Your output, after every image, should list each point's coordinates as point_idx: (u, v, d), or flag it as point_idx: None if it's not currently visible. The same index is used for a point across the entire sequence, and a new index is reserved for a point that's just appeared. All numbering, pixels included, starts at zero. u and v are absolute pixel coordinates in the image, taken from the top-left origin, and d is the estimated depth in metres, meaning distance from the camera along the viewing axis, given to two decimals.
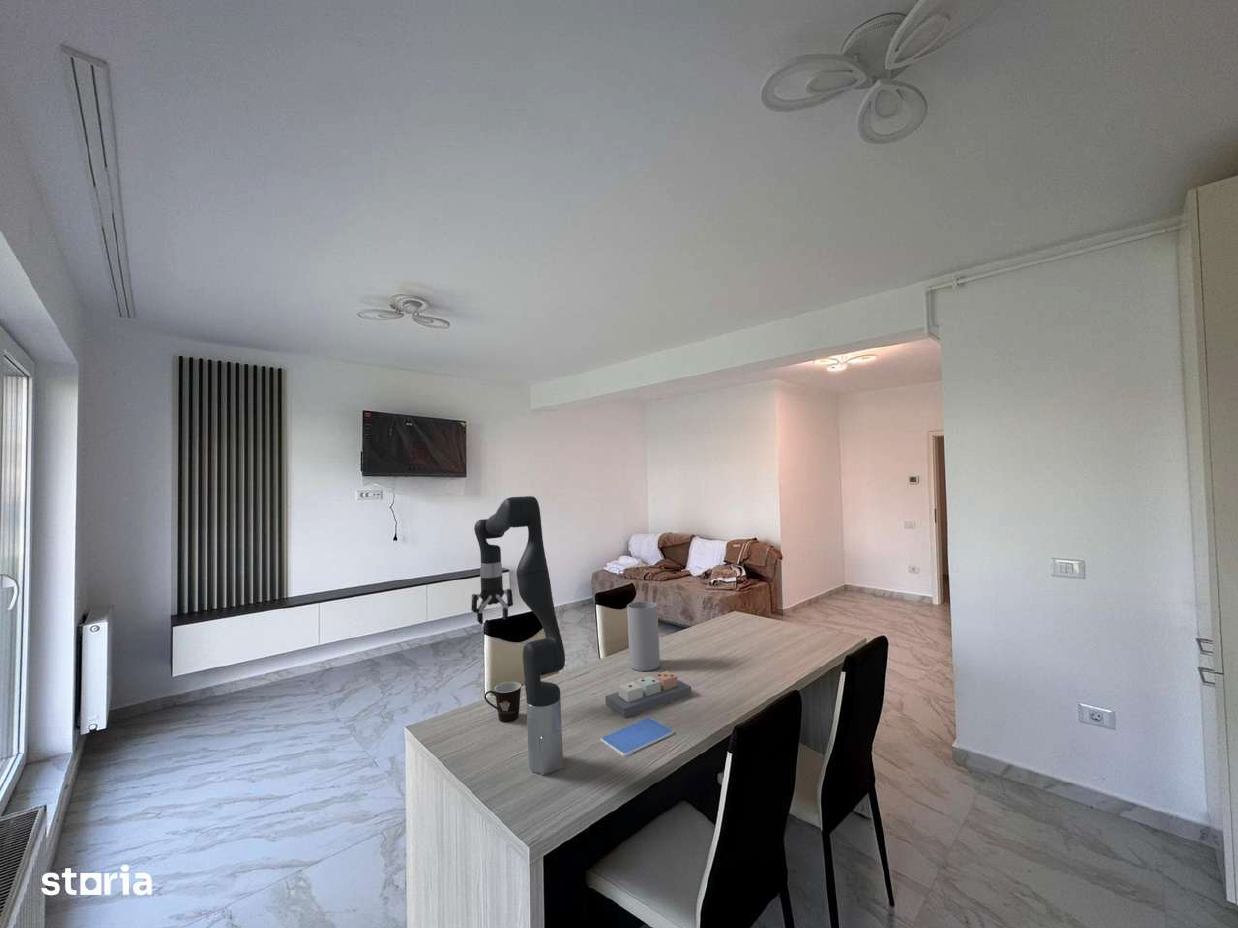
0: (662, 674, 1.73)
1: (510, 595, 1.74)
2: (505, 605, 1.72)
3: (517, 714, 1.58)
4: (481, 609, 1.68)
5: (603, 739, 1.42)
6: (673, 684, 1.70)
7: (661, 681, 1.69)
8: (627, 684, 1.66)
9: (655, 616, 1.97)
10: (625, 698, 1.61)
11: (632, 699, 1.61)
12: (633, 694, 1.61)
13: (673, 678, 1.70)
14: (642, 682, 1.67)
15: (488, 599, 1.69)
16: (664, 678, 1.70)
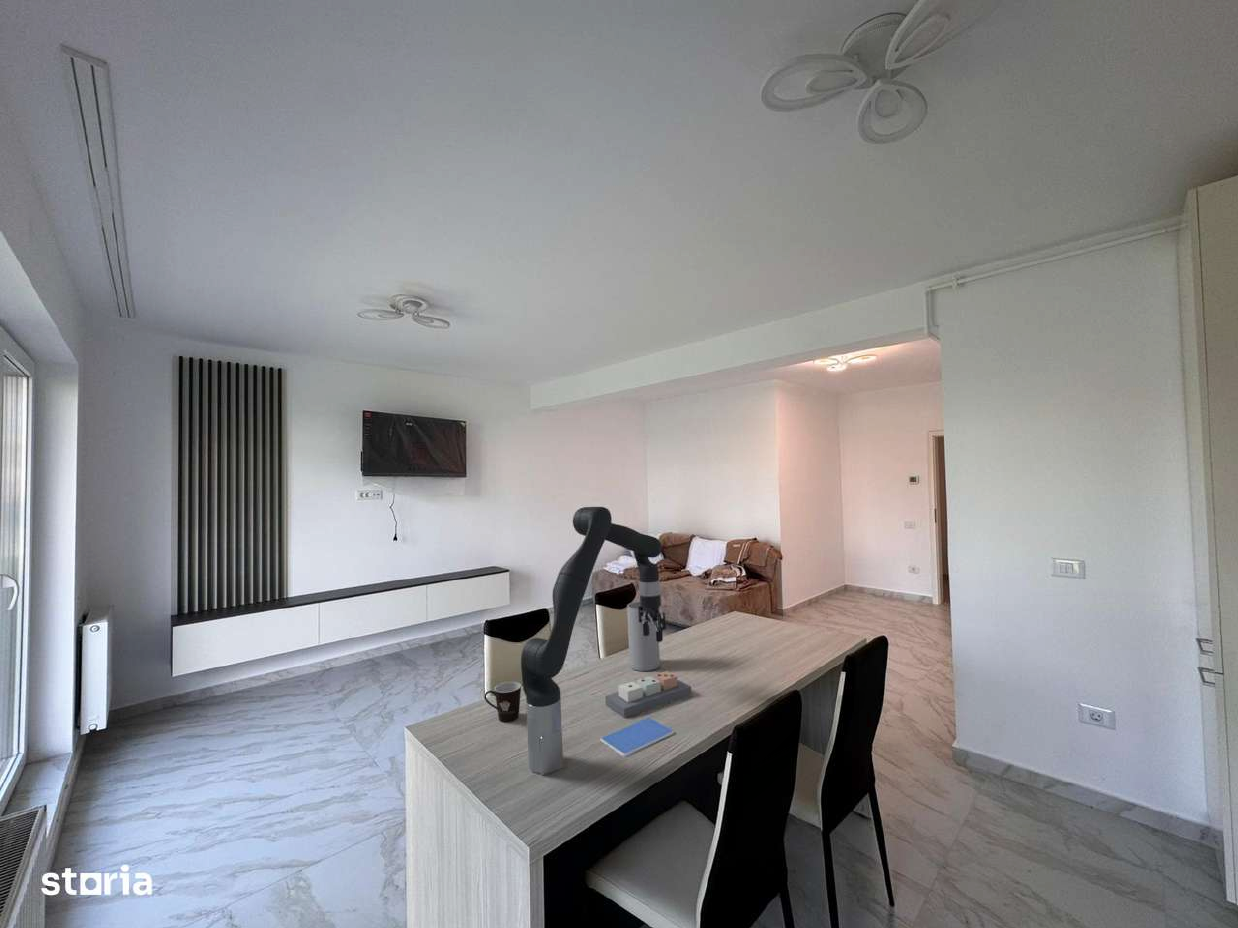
0: (662, 674, 1.73)
1: None
2: None
3: (517, 714, 1.58)
4: None
5: (603, 739, 1.42)
6: (673, 684, 1.70)
7: (661, 681, 1.69)
8: (627, 684, 1.66)
9: None
10: (625, 698, 1.61)
11: (632, 699, 1.61)
12: (633, 694, 1.61)
13: (673, 678, 1.70)
14: (642, 682, 1.67)
15: None
16: (664, 678, 1.70)
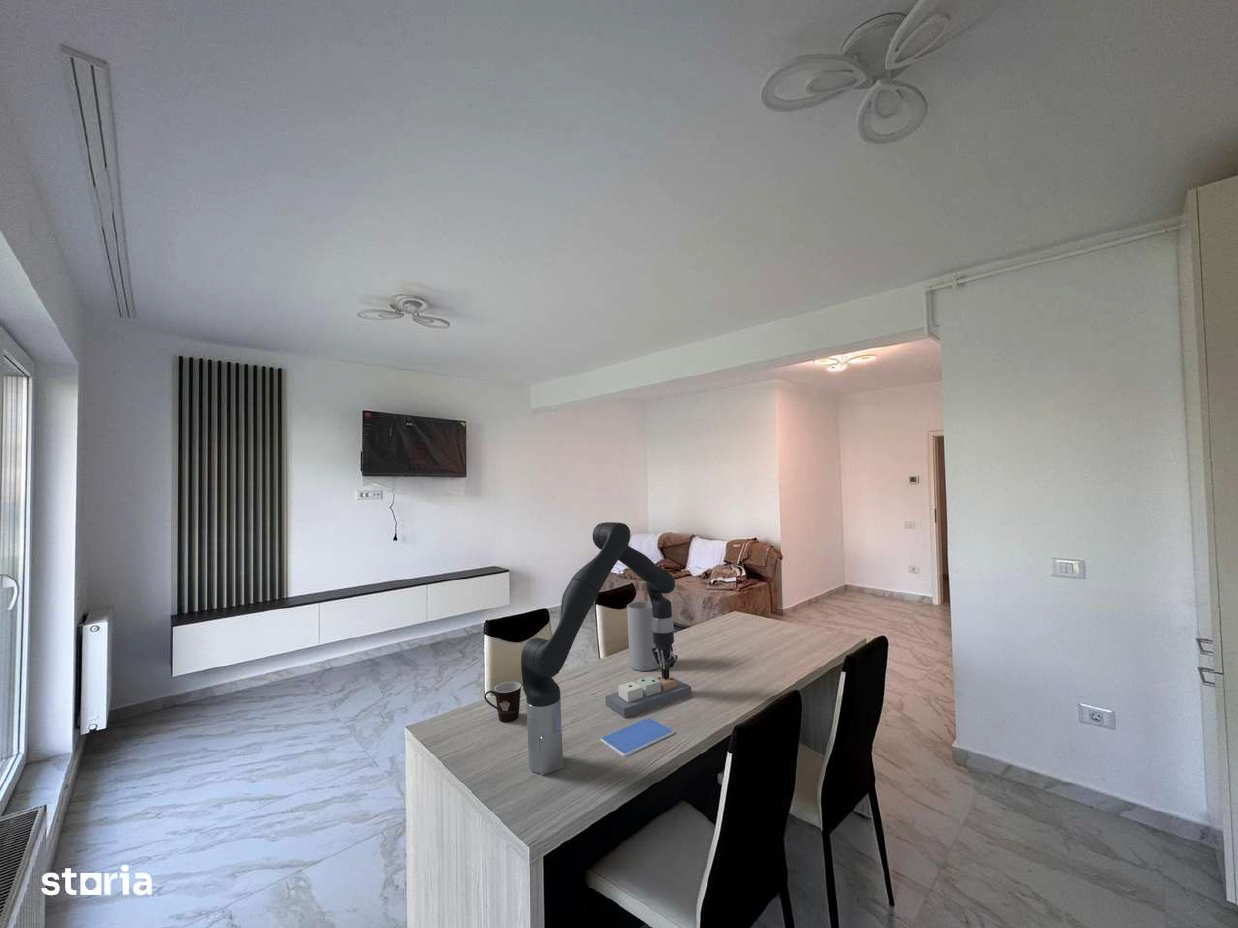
0: None
1: None
2: None
3: (517, 714, 1.58)
4: None
5: (603, 739, 1.42)
6: (673, 687, 1.70)
7: (661, 684, 1.69)
8: (627, 684, 1.66)
9: None
10: (625, 698, 1.61)
11: (632, 699, 1.61)
12: (633, 694, 1.61)
13: (673, 681, 1.70)
14: (642, 682, 1.67)
15: None
16: (664, 681, 1.69)
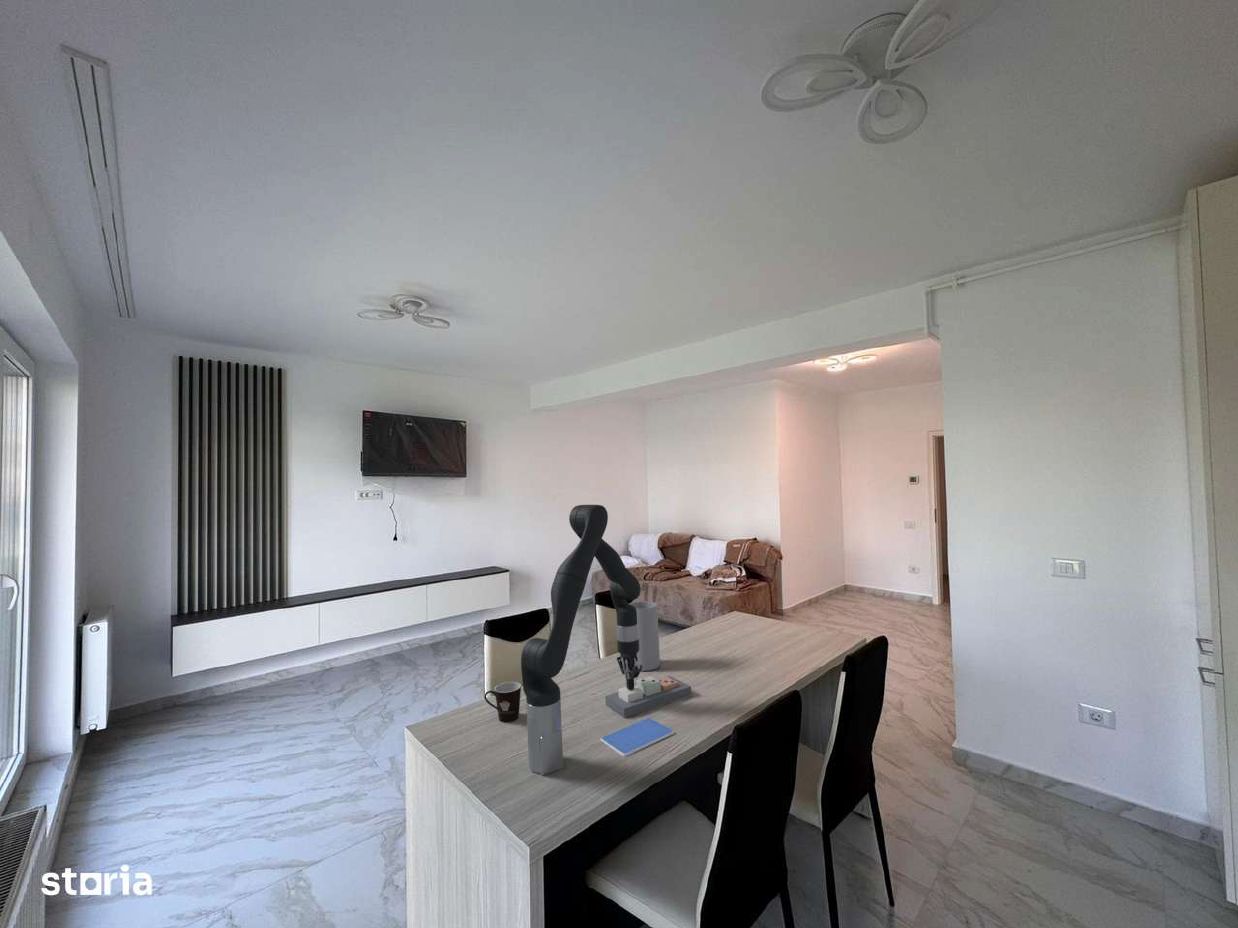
0: (662, 680, 1.73)
1: None
2: None
3: (517, 714, 1.58)
4: None
5: (603, 739, 1.42)
6: None
7: (661, 687, 1.69)
8: None
9: (655, 616, 1.97)
10: (625, 701, 1.61)
11: None
12: (633, 697, 1.61)
13: (673, 684, 1.70)
14: (642, 682, 1.67)
15: None
16: (664, 684, 1.69)
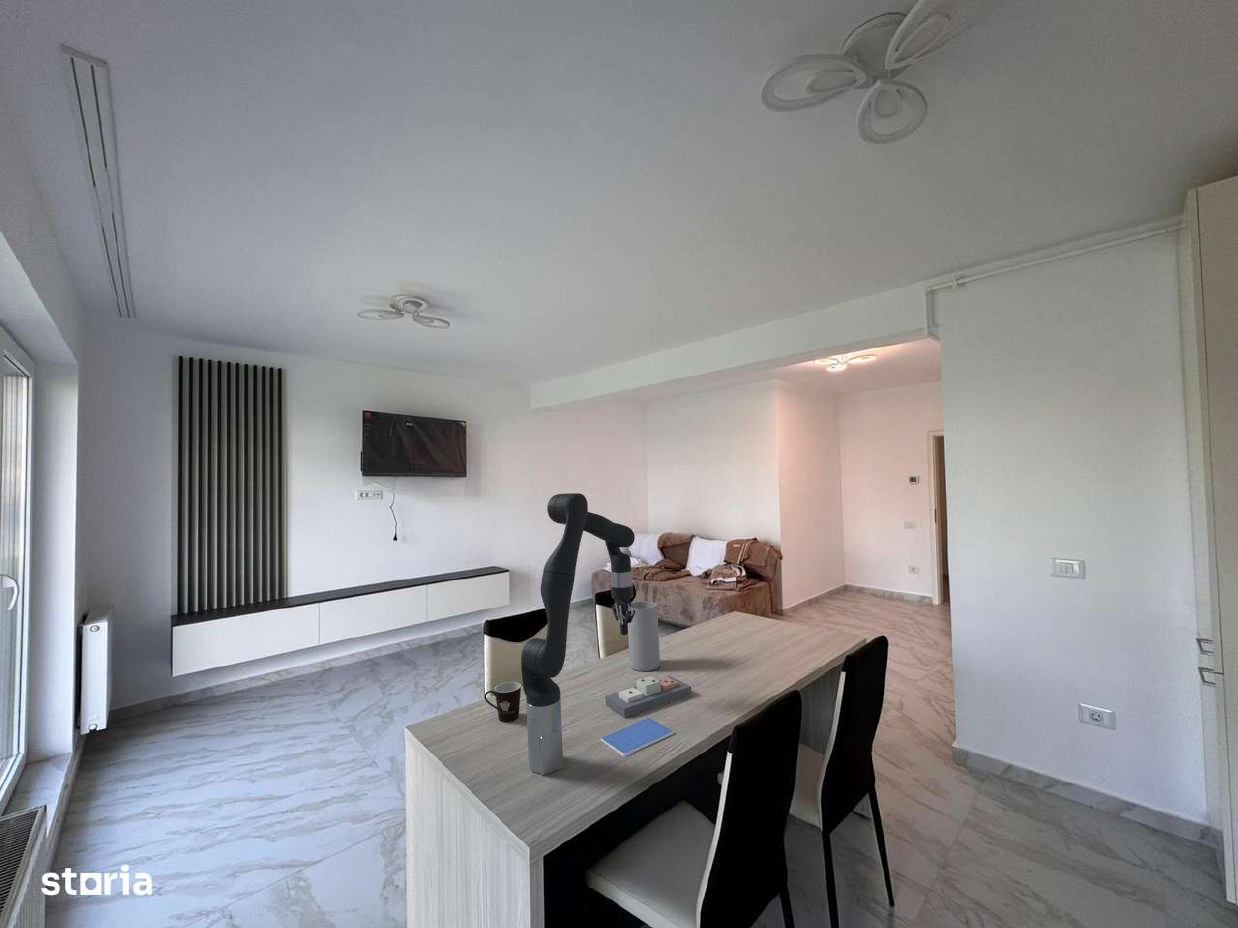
0: (662, 680, 1.73)
1: None
2: None
3: (517, 714, 1.58)
4: None
5: (603, 739, 1.42)
6: None
7: (661, 687, 1.69)
8: (627, 690, 1.66)
9: (655, 616, 1.97)
10: None
11: None
12: (634, 700, 1.61)
13: (673, 684, 1.70)
14: (642, 682, 1.67)
15: None
16: (664, 684, 1.69)
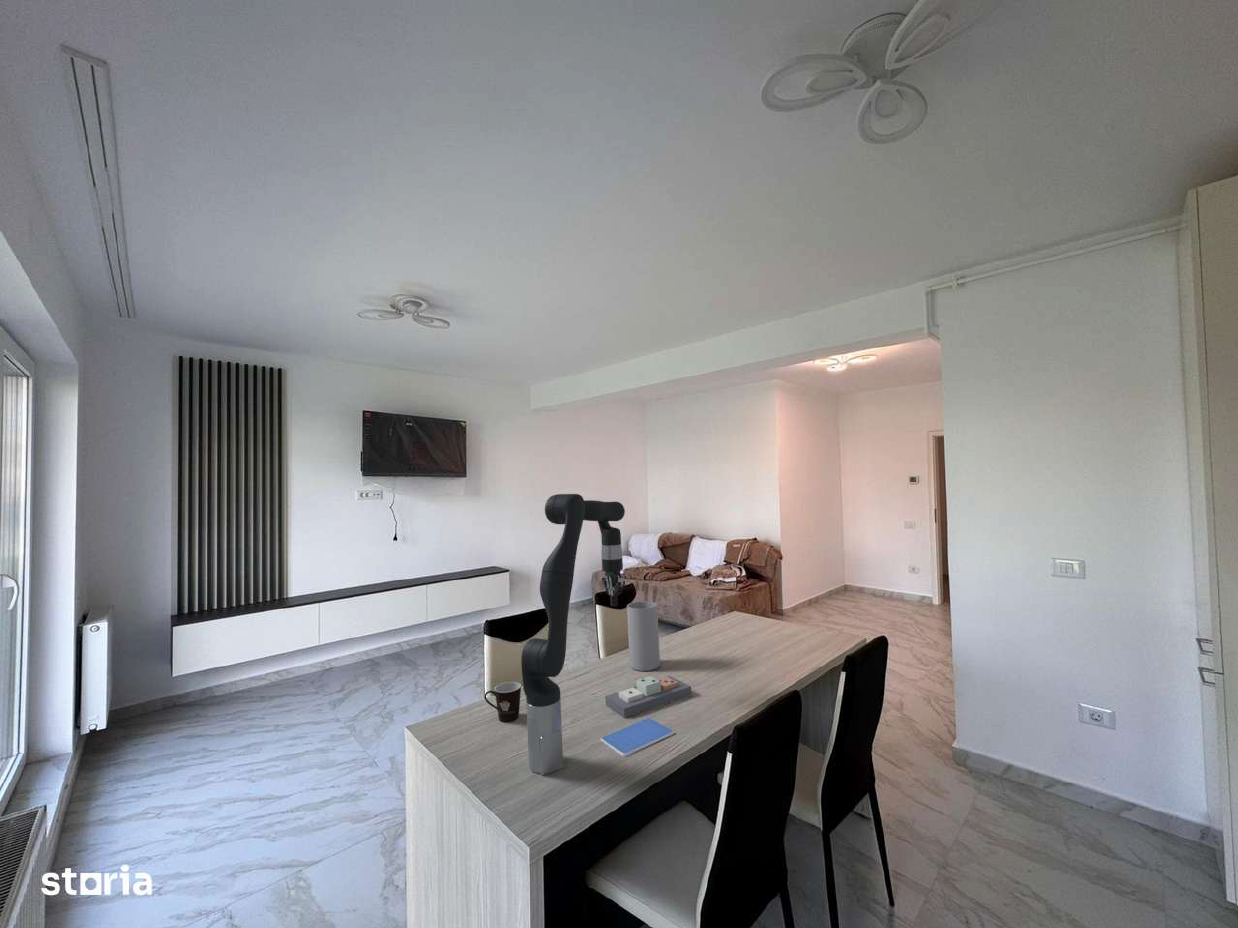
0: (662, 680, 1.73)
1: None
2: None
3: (517, 714, 1.58)
4: None
5: (603, 739, 1.42)
6: None
7: (661, 687, 1.69)
8: (627, 690, 1.66)
9: (655, 616, 1.97)
10: None
11: None
12: (634, 700, 1.61)
13: (673, 684, 1.70)
14: (642, 682, 1.67)
15: None
16: (664, 684, 1.69)
